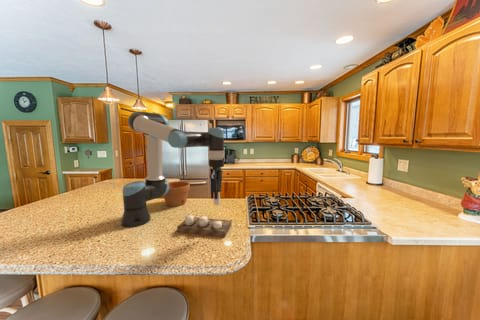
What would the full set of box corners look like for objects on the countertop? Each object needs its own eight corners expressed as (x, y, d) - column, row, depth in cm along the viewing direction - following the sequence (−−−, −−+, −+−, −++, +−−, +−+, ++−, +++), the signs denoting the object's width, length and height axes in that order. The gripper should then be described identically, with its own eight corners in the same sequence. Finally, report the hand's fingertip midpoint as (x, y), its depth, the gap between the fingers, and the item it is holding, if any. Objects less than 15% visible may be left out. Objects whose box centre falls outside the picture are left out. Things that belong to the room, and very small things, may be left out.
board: (177, 232, 100) (177, 226, 99) (189, 221, 112) (188, 216, 112) (224, 237, 94) (224, 231, 94) (231, 225, 107) (231, 220, 106)
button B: (197, 226, 99) (197, 219, 98) (201, 222, 103) (201, 215, 103) (205, 227, 98) (205, 219, 97) (208, 223, 102) (208, 216, 102)
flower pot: (173, 210, 130) (172, 189, 129) (155, 204, 142) (154, 185, 140) (196, 201, 148) (195, 183, 146) (178, 197, 159) (177, 180, 158)
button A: (183, 225, 100) (183, 218, 100) (187, 221, 105) (187, 214, 104) (191, 225, 99) (191, 218, 99) (195, 222, 104) (194, 215, 103)
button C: (212, 231, 97) (212, 224, 97) (215, 227, 102) (215, 220, 101) (220, 232, 96) (220, 224, 96) (223, 228, 101) (222, 221, 100)
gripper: (219, 160, 88) (219, 209, 90) (227, 157, 100) (227, 200, 103) (204, 160, 89) (205, 208, 92) (213, 157, 102) (214, 199, 105)
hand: (216, 204), depth 98 cm, fingers closed
